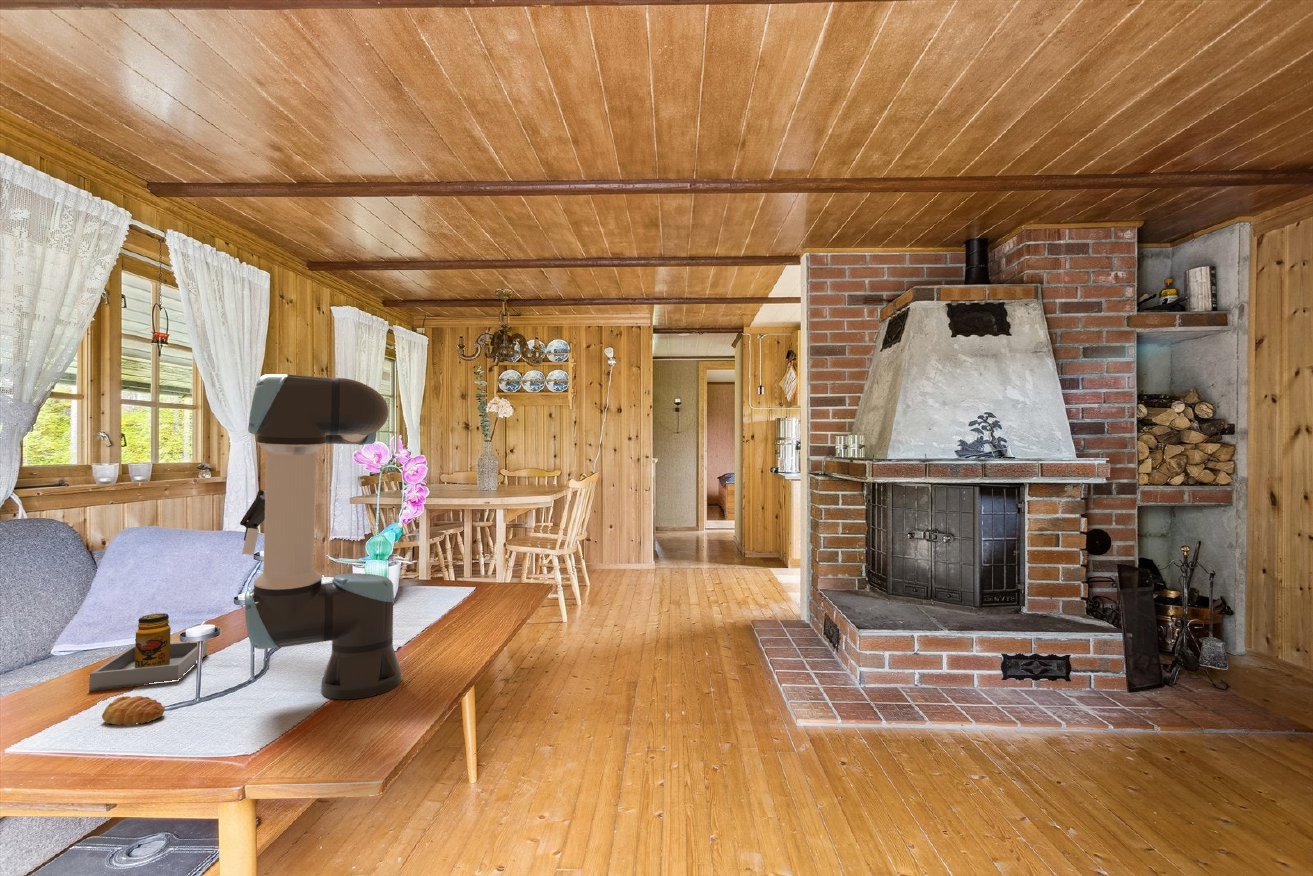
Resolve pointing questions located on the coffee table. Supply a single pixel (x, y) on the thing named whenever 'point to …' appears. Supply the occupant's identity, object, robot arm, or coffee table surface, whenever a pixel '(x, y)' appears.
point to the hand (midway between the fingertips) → (270, 555)
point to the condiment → (152, 641)
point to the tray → (144, 668)
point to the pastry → (132, 710)
